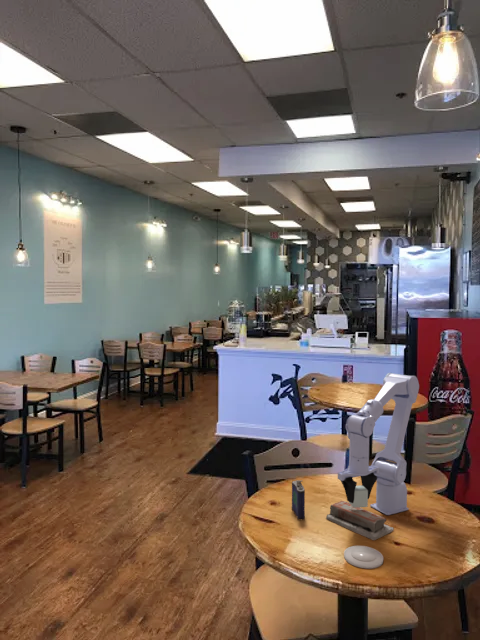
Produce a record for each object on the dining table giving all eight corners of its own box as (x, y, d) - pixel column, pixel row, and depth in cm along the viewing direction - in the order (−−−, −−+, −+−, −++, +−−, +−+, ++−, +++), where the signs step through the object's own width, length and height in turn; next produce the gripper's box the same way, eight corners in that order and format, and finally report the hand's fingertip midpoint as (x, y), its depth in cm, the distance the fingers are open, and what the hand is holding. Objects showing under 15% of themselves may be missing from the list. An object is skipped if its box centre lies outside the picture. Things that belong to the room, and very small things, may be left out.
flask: (290, 507, 159) (291, 475, 159) (299, 507, 160) (299, 474, 159) (297, 520, 150) (298, 486, 150) (307, 519, 150) (307, 485, 150)
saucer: (364, 545, 135) (365, 541, 135) (391, 562, 126) (391, 558, 126) (336, 553, 130) (336, 549, 130) (361, 572, 121) (361, 567, 121)
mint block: (362, 501, 150) (362, 485, 150) (367, 506, 146) (367, 490, 146) (348, 502, 149) (349, 486, 149) (353, 507, 145) (353, 491, 145)
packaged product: (325, 504, 151) (345, 496, 157) (324, 520, 151) (345, 511, 158) (374, 525, 137) (394, 516, 144) (374, 542, 137) (394, 532, 144)
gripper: (368, 448, 154) (367, 490, 154) (331, 454, 147) (330, 499, 148) (384, 454, 148) (383, 499, 148) (346, 461, 141) (345, 508, 142)
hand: (358, 499), depth 148 cm, fingers closed on mint block, 5 cm apart
